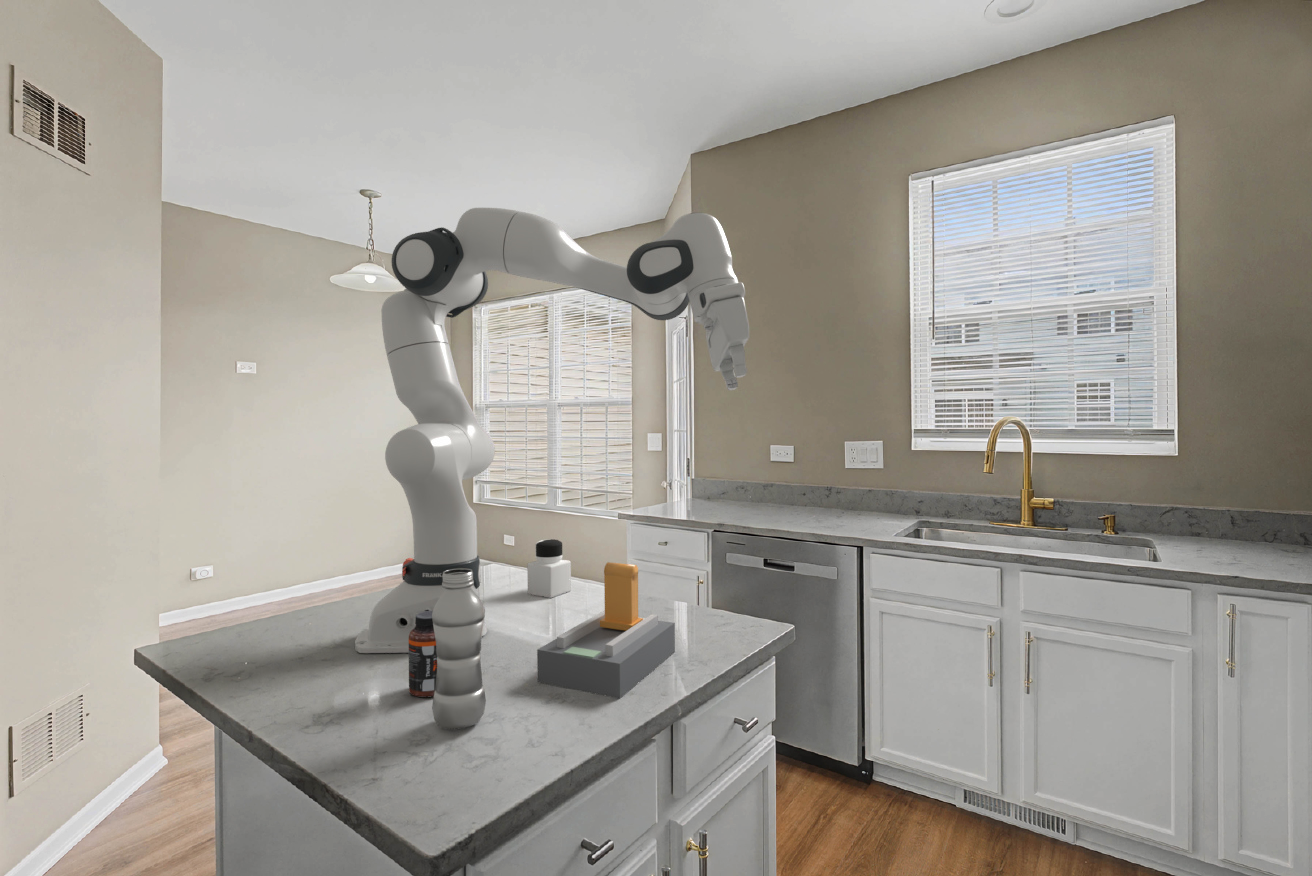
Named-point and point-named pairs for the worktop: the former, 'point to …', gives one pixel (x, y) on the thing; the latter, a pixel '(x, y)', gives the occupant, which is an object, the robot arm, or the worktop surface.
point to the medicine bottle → (549, 570)
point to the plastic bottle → (458, 652)
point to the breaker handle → (620, 596)
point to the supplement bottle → (422, 656)
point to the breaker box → (605, 656)
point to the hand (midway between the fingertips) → (737, 382)
